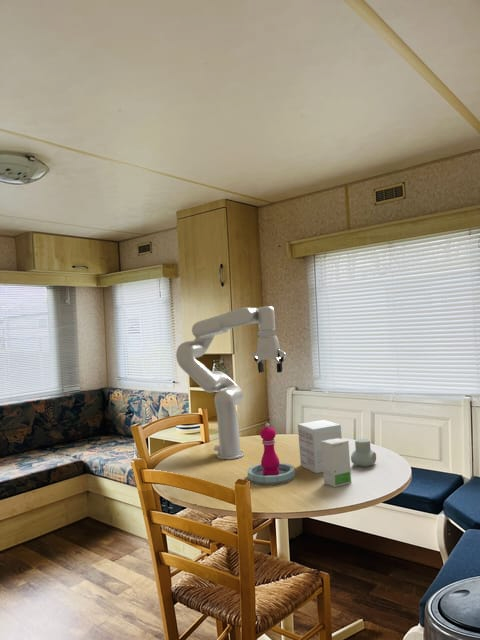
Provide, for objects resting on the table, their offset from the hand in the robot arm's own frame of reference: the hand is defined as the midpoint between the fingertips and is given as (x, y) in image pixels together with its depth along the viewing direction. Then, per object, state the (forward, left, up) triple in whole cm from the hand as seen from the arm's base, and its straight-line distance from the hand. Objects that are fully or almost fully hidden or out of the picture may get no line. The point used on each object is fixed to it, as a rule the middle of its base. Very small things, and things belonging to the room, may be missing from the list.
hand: (270, 372), depth 215 cm
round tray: (+12, -24, -38) cm, 47 cm away
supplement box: (+24, -4, -39) cm, 46 cm away
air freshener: (+39, +4, -39) cm, 55 cm away
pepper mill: (+12, -24, -37) cm, 46 cm away
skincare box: (+38, -20, -38) cm, 58 cm away
